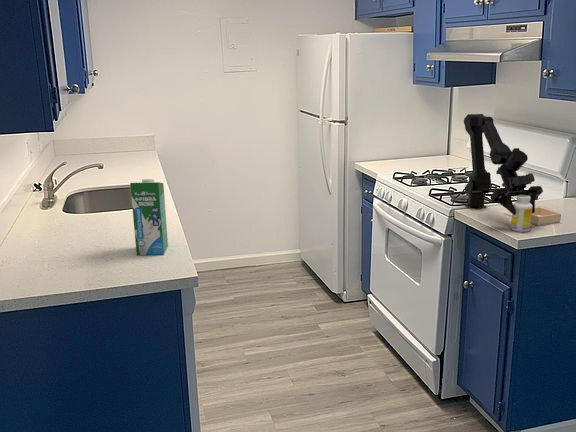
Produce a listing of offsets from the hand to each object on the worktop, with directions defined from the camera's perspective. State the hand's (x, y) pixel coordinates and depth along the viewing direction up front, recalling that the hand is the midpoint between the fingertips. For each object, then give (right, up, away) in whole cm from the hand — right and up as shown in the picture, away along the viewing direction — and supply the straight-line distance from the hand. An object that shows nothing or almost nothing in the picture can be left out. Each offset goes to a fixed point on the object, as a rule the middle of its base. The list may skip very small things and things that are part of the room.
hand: (524, 213), depth 214 cm
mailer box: (+10, -2, +18) cm, 20 cm away
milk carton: (-133, -13, -14) cm, 134 cm away
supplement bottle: (0, -6, +3) cm, 7 cm away
